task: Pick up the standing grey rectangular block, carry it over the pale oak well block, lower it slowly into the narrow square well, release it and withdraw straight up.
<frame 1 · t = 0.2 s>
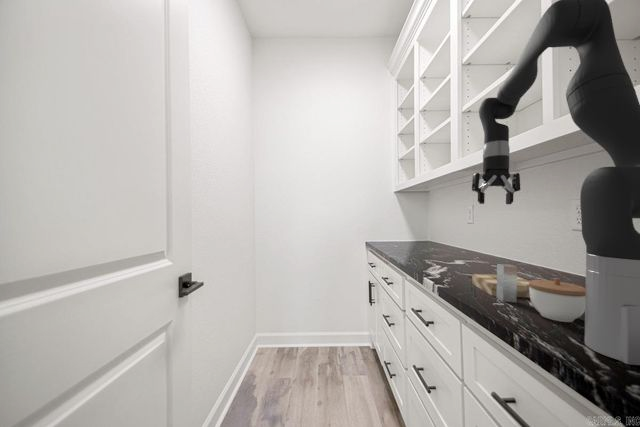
hand: (495, 204, 92), 28 cm above the worktop, tool pointing down, fingers open, 8 cm apart
well block: (504, 290, 88), on the worktop
grey rectangular block: (506, 300, 77), on the worktop
lidded jar: (556, 318, 65), on the worktop
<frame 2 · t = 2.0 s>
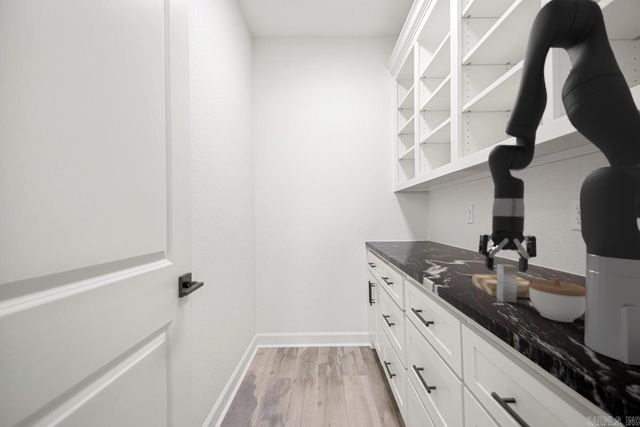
hand: (506, 270, 78), 8 cm above the worktop, tool pointing down, fingers open, 8 cm apart
nothing on the worktop moved.
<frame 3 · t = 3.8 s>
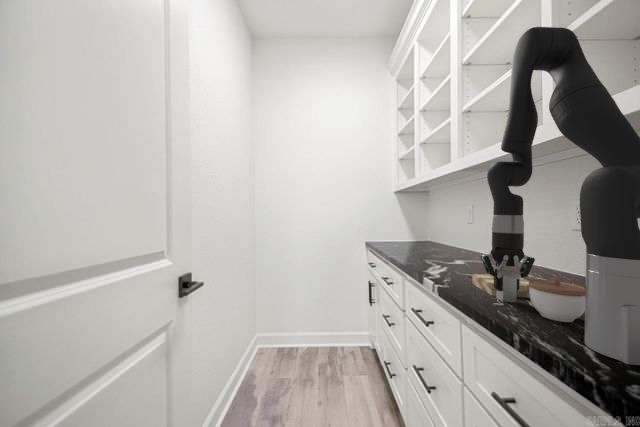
hand: (506, 290, 77), 3 cm above the worktop, tool pointing down, fingers closed on grey rectangular block, 3 cm apart
grey rectangular block: (506, 300, 77), on the worktop, touching gripper
everything else where it was.
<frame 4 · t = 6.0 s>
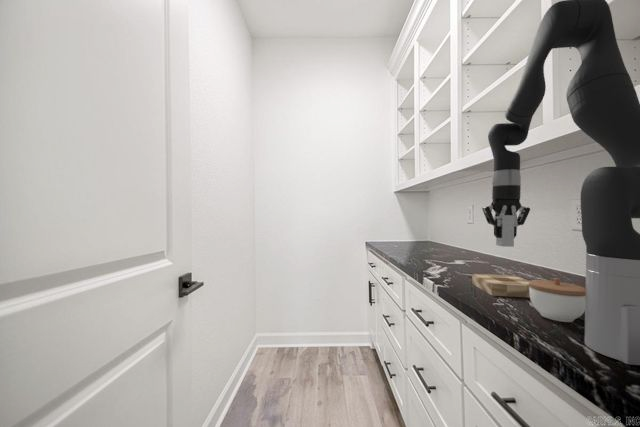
hand: (505, 237, 88), 17 cm above the worktop, tool pointing down, fingers closed on grey rectangular block, 3 cm apart
grey rectangular block: (504, 245, 88), point 14 cm above the worktop, touching gripper
everything else where it was.
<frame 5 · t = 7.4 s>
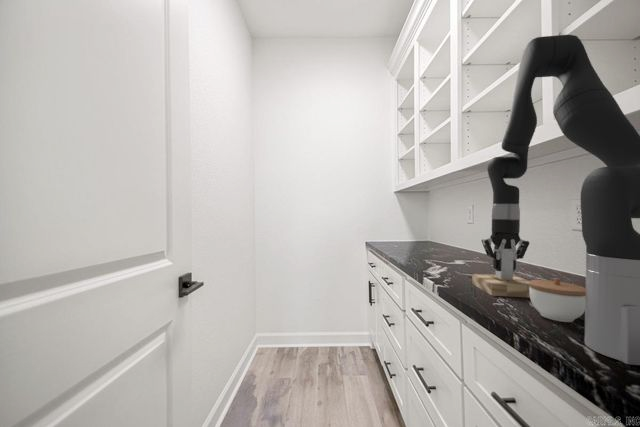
hand: (504, 270, 88), 6 cm above the worktop, tool pointing down, fingers closed on grey rectangular block, 3 cm apart
grey rectangular block: (503, 278, 88), point 4 cm above the worktop, touching gripper
everything else where it was.
when the fingers open (4 cm above the worktop, at t = 8.5 s): grey rectangular block drops 1 cm, resting in well block.
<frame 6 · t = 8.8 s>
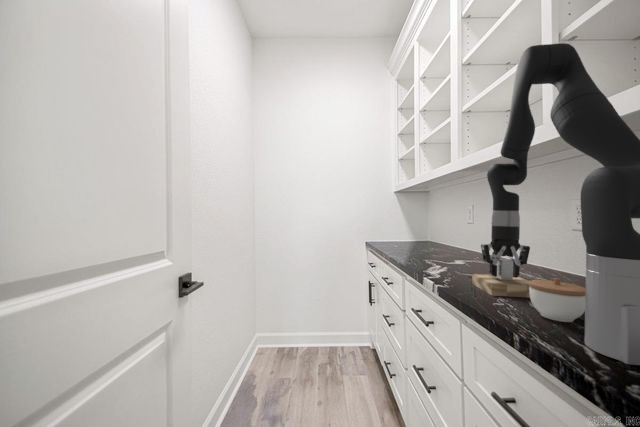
hand: (504, 276, 88), 4 cm above the worktop, tool pointing down, fingers open, 5 cm apart
grey rectangular block: (503, 290, 88), resting in well block
everything else where it was.
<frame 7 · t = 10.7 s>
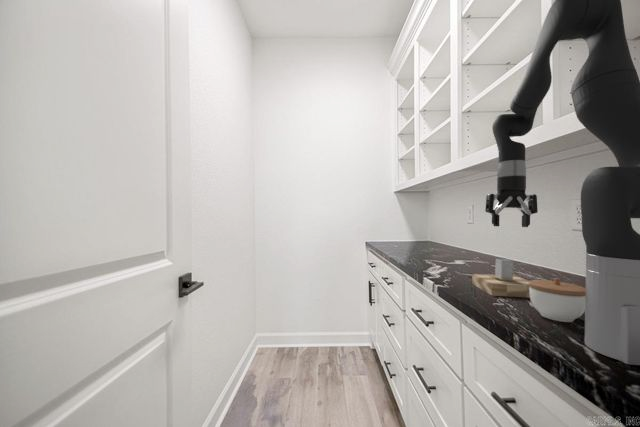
hand: (510, 226, 86), 21 cm above the worktop, tool pointing down, fingers open, 8 cm apart
nothing on the worktop moved.
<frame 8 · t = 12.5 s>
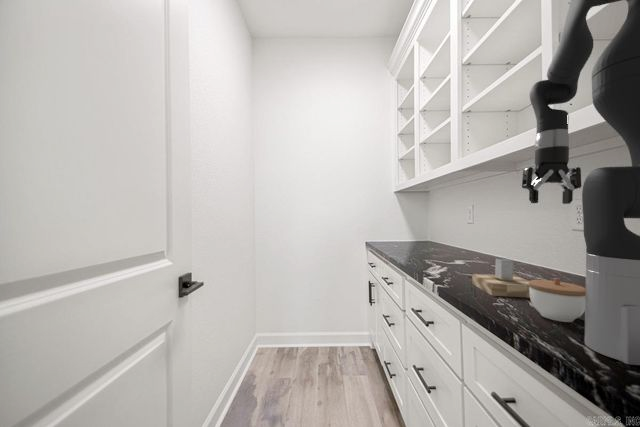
hand: (550, 203, 79), 28 cm above the worktop, tool pointing down, fingers open, 8 cm apart
nothing on the worktop moved.
at the end: grey rectangular block 0.2 cm off-centre on the well block, point 0.0 cm above the well block's base; grey rectangular block tilted 0°; the gripper is holding nothing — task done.
